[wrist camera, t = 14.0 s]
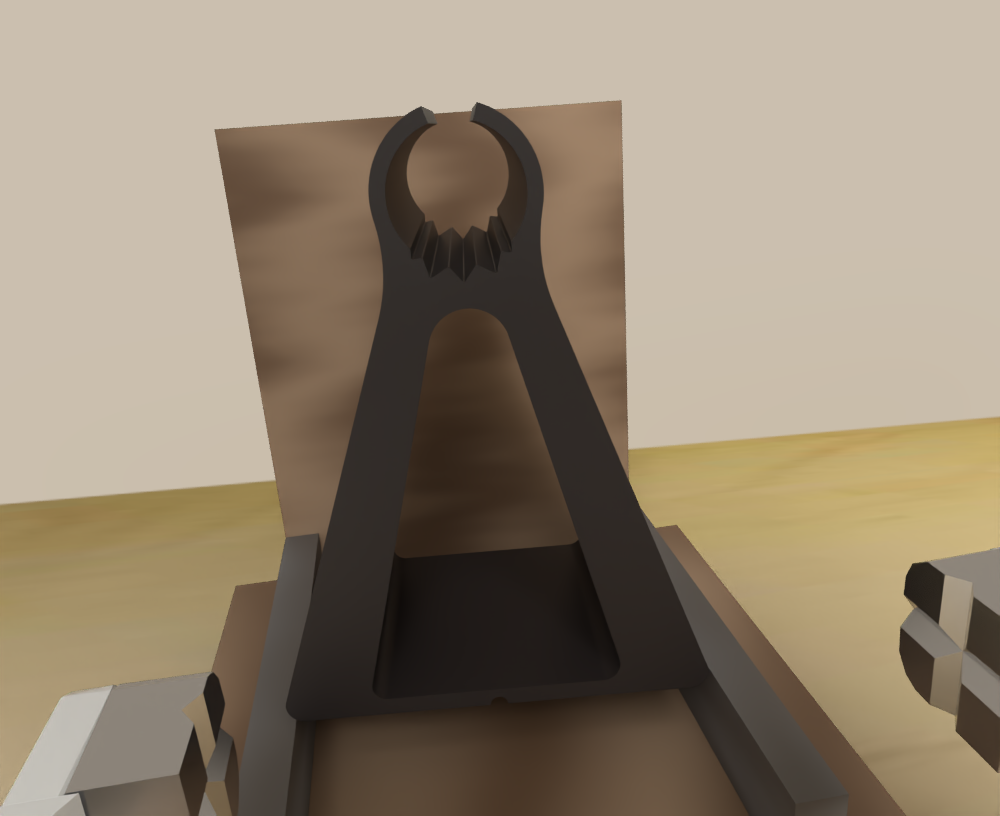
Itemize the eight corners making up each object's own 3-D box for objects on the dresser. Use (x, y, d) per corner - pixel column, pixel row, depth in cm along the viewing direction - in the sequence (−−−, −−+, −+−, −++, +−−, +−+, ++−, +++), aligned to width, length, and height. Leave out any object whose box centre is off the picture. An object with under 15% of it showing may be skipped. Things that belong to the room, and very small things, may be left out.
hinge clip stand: (130, 1084, 14) (-178, 140, 9) (249, 602, 29) (157, 135, 23) (931, 917, 16) (1054, 55, 11) (663, 544, 30) (661, 98, 25)
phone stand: (649, 549, 23) (645, 96, 19) (709, 688, 17) (720, 84, 13) (331, 575, 23) (260, 124, 19) (286, 723, 17) (172, 124, 13)
